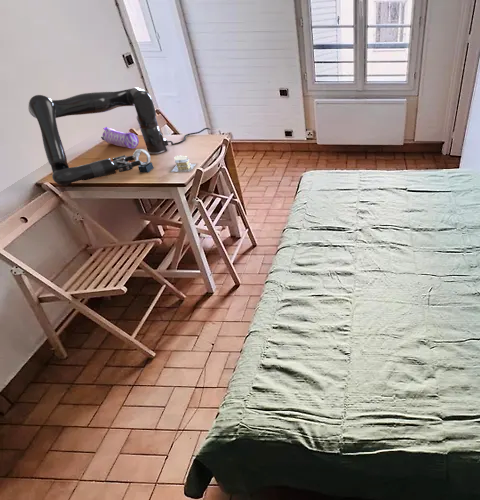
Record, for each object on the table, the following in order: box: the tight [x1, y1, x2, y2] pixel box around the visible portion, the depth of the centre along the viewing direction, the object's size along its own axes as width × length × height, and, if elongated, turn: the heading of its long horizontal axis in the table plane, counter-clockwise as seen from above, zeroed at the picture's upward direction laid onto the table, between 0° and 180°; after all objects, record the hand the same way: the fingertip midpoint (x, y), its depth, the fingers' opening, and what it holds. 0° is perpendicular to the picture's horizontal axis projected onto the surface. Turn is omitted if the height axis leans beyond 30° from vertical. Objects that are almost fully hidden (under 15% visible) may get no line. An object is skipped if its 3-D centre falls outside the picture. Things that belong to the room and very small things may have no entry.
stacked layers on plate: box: [170, 154, 196, 173], centre depth 195 cm, size 10×9×6 cm
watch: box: [132, 148, 154, 174], centre depth 191 cm, size 6×8×11 cm
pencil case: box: [100, 126, 140, 150], centre depth 219 cm, size 22×9×10 cm, turn 63°
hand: (138, 159), depth 190 cm, fingers open, 8 cm apart
